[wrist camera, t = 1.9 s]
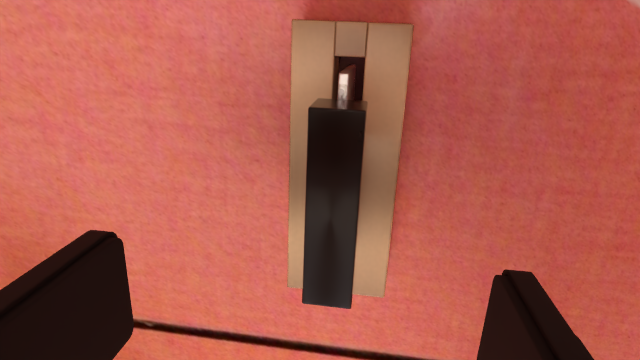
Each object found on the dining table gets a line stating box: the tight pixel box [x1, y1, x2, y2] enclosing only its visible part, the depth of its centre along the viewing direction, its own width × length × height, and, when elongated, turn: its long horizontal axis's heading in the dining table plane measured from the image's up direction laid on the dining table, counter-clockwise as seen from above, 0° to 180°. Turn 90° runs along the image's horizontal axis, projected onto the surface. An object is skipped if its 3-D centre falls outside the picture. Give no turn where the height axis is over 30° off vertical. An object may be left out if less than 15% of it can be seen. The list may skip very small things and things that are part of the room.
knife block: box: [287, 19, 414, 298], centre depth 22 cm, size 14×5×3 cm, turn 178°
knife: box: [302, 65, 368, 309], centre depth 19 cm, size 10×2×8 cm, turn 178°
